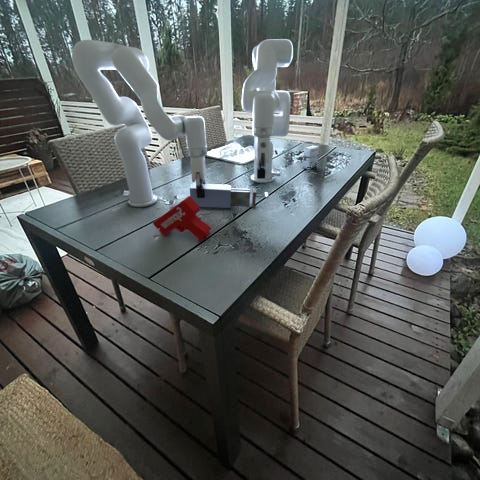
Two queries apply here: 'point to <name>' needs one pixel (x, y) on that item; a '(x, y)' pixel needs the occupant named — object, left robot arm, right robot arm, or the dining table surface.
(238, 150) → the relief map
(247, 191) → the drawer
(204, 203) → the cabinet
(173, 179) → the dining table surface
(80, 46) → the left robot arm
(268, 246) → the dining table surface
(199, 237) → the toy gun
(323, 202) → the dining table surface
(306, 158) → the ink box
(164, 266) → the dining table surface
